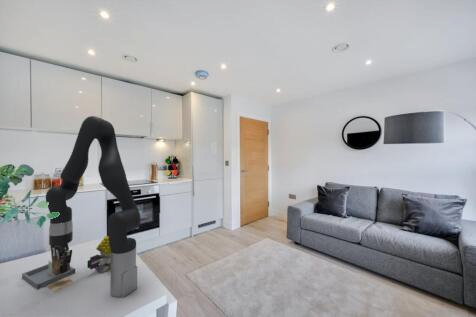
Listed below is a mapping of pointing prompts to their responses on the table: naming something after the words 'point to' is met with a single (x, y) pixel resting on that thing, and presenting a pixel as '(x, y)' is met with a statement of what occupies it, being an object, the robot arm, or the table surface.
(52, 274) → the sage block
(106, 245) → the toy
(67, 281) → the cork pad
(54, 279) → the tray
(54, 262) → the walnut block
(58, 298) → the table surface
